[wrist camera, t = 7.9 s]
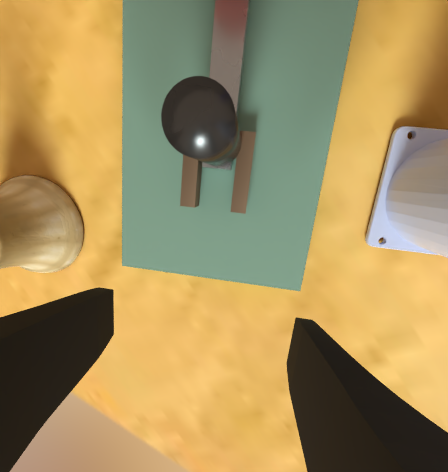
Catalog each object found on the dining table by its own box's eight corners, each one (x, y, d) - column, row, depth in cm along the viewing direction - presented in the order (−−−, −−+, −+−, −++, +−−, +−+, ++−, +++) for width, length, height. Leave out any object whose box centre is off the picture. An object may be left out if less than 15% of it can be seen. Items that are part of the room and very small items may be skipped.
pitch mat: (371, -91, 13) (381, -113, 12) (297, 285, 19) (300, 291, 18) (131, -96, 14) (123, -116, 13) (128, 261, 20) (122, 265, 19)
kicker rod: (275, -21, 13) (303, -239, 6) (250, 172, 16) (251, 166, 9) (199, -24, 14) (147, -235, 7) (187, 165, 16) (140, 154, 9)
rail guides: (255, 136, 16) (255, 131, 14) (245, 211, 17) (245, 213, 16) (190, 129, 16) (185, 125, 15) (185, 203, 17) (180, 205, 16)
